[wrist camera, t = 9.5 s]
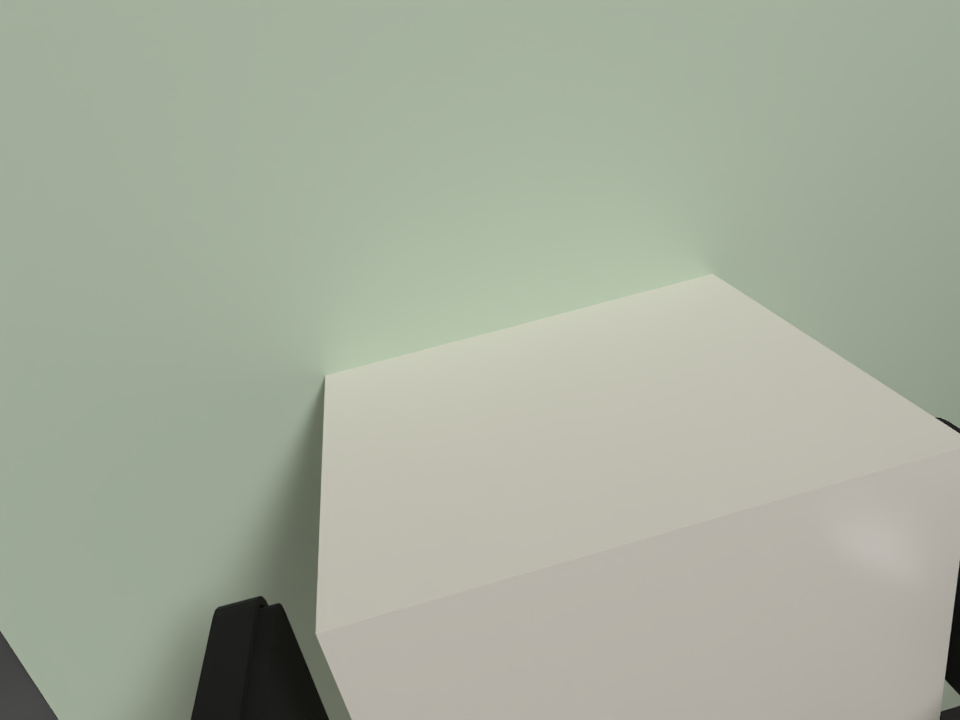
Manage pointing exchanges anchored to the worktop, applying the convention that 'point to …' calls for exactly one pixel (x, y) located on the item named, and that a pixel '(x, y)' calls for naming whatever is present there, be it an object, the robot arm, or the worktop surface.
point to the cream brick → (635, 524)
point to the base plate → (400, 256)
